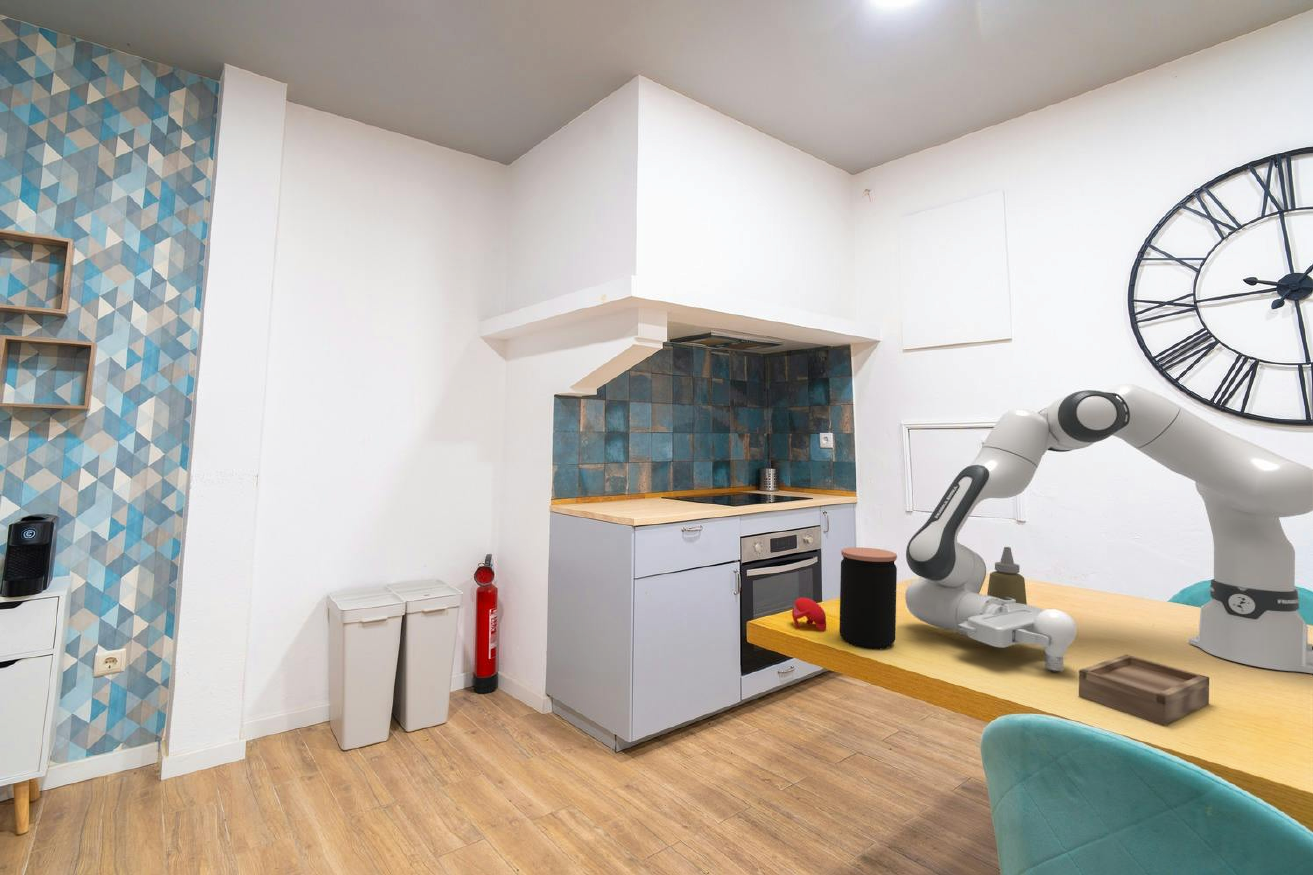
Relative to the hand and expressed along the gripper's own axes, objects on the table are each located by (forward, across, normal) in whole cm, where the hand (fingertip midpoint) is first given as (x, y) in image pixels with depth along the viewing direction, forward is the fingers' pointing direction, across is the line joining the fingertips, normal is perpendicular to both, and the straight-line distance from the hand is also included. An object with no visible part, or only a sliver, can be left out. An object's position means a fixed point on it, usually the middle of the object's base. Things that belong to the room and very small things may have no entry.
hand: (1060, 638), depth 103 cm
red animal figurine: (-39, -22, +6) cm, 45 cm away
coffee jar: (-27, -18, +6) cm, 33 cm away
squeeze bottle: (-19, +17, +6) cm, 26 cm away
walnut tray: (+12, 0, +6) cm, 14 cm away
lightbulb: (-1, 0, +6) cm, 6 cm away
